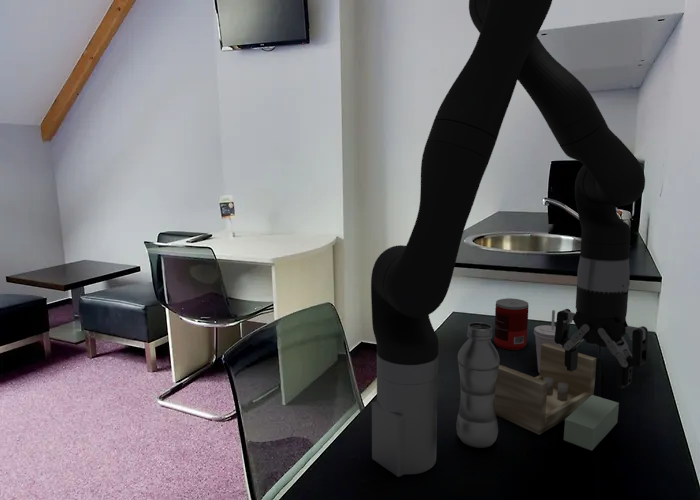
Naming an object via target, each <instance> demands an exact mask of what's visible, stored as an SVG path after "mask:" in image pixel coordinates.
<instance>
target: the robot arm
mask: <svg viewBox="0 0 700 500" xmlns="http://www.w3.org/2000/svg"><path fill="white" fill-rule="evenodd" d="M552 4H553V0H468V12H469V16H470V19H471V21H472V23H473V25H474V28H476V29H477V31H478V33H479V36H478V37H477V41H476V44H475V46H474V48H473V51H472V52H471V55H469V58H468V60H467V62H466V63H465V65H464V66H463V68H462V69H461V71H460V72H459V74H458V75H457V77H456V79H455V80H454V82H453V83H452V85H451V87H450V89H448V91H447V93H446V95H445V97H444V98H443V99H442V102H441V104H440V106H439V108H438V110H437V113H436V115H435V117H434V120H433V122H432V124H431V129H430V130H429V134H428V136H427V139H426V141H425V145H424V149H423V153H422V158H421V164H420V165H421V166H420V190H419V191H420V194H419V207H418V212H417V215H416V219H415V222H414V225H413V228H412V231H411V233H410V236H409V238H408V241H407V243H406V245H401V244H400V245H394V246H391V247H388V248H387V249H385V250H384V251H382V252H381V254H379V255H378V257H377V258H376V259H375V262H374V264H373V267H372V270H371V278H370V298H371V299H370V300H371V322H372V325H371V326H372V331H373V335H374V338H375V342H376V343H375V344H376V400H374V401H373V402H372V403H371V459H372V460H373V461H374V462H376V463H378V464H379V465H380V466H382V467H383V468H385V469H386V470H387V471H389V472H390V473H392V474H393V475H395V476H396V477H398V478H400V477H402V476H404V475H418V474H423V473H425V472H427V471H429V470H431V469H432V468H433V467H434V466H435V464H436V463H437V445H438V444H437V441H438V437H437V434H438V432H437V431H438V384H439V383H438V380H439V379H438V378H439V377H438V375H439V373H438V372H439V337H438V335H437V333H436V331H435V329H434V326H433V324H432V321H431V319H430V315H431V314H433V313H434V312H435V311H436V310H437V309H438V308H439V307H440V306H441V304H443V302H444V300H445V298H446V296H447V294H448V291H449V289H450V285H451V283H452V279H453V274H454V270H455V267H456V263H457V257H458V254H459V250H460V246H461V241H462V238H463V235H464V231H465V228H466V225H467V222H468V219H469V216H470V215H471V211H472V208H473V205H474V203H475V200H476V197H477V194H478V191H479V189H480V185H481V182H482V180H483V177H484V175H485V172H486V170H487V168H488V165H489V162H490V160H491V158H492V154H493V151H494V148H495V145H496V143H497V140H498V138H499V137H498V136H499V133H500V130H501V128H502V125H503V122H504V119H505V117H506V113H507V110H508V108H509V106H510V102H511V100H512V98H513V94H514V92H515V88H516V86H517V82H519V83H520V84H521V86H522V87H523V89H524V90H525V92H526V93H527V94H528V96H529V97H530V98H531V100H532V102H533V103H534V104H535V106H536V108H537V109H538V111H539V112H540V114H541V115H542V117H543V119H544V120H545V122H546V124H547V126H548V128H549V129H550V132H551V133H552V135H553V136H554V138H555V140H556V142H557V144H558V146H559V147H560V148H561V150H562V152H563V153H564V154H565V155H566V157H569V159H573V160H575V161H577V162H580V163H581V164H582V166H581V168H580V169H579V171H578V173H577V175H576V178H575V183H574V198H575V204H576V210H577V215H578V221H579V223H580V228H581V235H580V250H579V251H580V253H579V254H580V255H579V261H578V266H577V273H576V275H577V276H576V277H577V278H576V292H575V293H576V294H575V310H576V311H575V312H572V311H571V310H570V309H569V308H565V309H562V310H559V311H558V312H557V313H556V321H555V322H556V323H555V327H556V329H555V338H554V341H555V343H556V344H560V345H562V348H564V349H565V362H564V364H565V366H566V367H567V370H568V371H571V372H572V371H574V370H576V369H577V361H578V353H579V348H577V347H578V346H579V345H580V344H581V343H582V342H584V341H585V343H587V344H589V345H590V344H591V345H593V344H594V345H598V346H599V347H602V348H608V351H610V353H611V354H612V355H613V356H614V357H615V358H616V359H617V361H618V363H619V366H618V368H617V383H616V387H617V388H618V389H625V388H626V387H627V386H629V385H630V384H631V383H632V380H633V369H634V367H635V368H640V367H641V366H642V365H644V364H646V363H647V362H648V341H649V340H648V339H649V338H648V337H649V336H648V335H649V334H648V331H649V330H648V328H647V327H646V326H639V327H638V326H637V327H636V326H631V325H628V322H627V320H626V319H627V313H628V300H629V289H630V284H631V280H630V275H631V274H630V272H631V271H630V249H631V247H630V246H631V227H630V226H629V224H628V223H626V221H624V220H622V219H621V218H620V217H619V215H618V213H617V207H623V206H624V207H625V206H628V205H632V204H633V203H635V202H637V200H639V199H640V197H641V196H642V195H643V192H644V190H645V186H646V177H645V172H644V169H643V167H642V165H641V163H640V161H639V160H638V158H637V157H636V156H635V155H634V153H633V152H632V151H631V150H630V149H629V147H628V146H627V145H625V143H624V142H623V141H622V140H621V139H620V138H619V137H618V136H617V135H616V134H615V133H614V132H613V131H612V130H611V129H610V128H609V125H608V124H607V122H606V120H605V118H604V116H603V114H602V112H601V111H600V108H599V107H598V105H597V102H596V101H595V99H594V97H593V96H592V94H591V93H590V91H589V90H588V89H587V88H586V86H585V85H584V84H583V83H582V81H580V80H579V78H577V77H576V76H575V75H573V74H572V73H571V72H570V71H569V70H568V69H567V68H566V67H564V66H563V65H562V64H561V63H560V62H559V61H557V60H556V59H555V58H554V57H553V55H552V54H551V53H550V52H549V51H548V50H547V48H546V47H545V46H544V45H543V43H542V42H541V40H540V39H539V37H538V34H539V32H540V30H541V28H542V25H543V23H544V22H545V20H546V18H547V15H548V13H549V11H550V8H551V6H552ZM571 323H574V325H575V327H576V328H577V331H576V332H575V333H574V334H573V335H572V336H571V337H570V338H569V334H570V333H569V332H570V325H571ZM626 334H627V335H628V338H629V340H630V341H631V342H632V343H631V345H632V346H631V347H632V348H631V349H632V350H631V351H630V349H629V345H628V343H627V341H626V339H625V338H624V336H625V335H626Z"/></svg>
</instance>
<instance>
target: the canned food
mask: <svg viewBox="0 0 700 500" xmlns="http://www.w3.org/2000/svg"><path fill="white" fill-rule="evenodd" d="M494 309H495V313H494V337H493V338H494V340H493V341H494V344H495V345H494V346H496V347H498V348H500V349H502V350H507V351H519V350H522V349H525V348H526V345H527V343H528V342H527V341H528V327H529V326H528V324H529V323H528V322H529V302H528V301H526V300H524V299H520V298H511V297H510V298H508V297H507V298H500V299H497V300H496V301H495V308H494Z"/></svg>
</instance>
